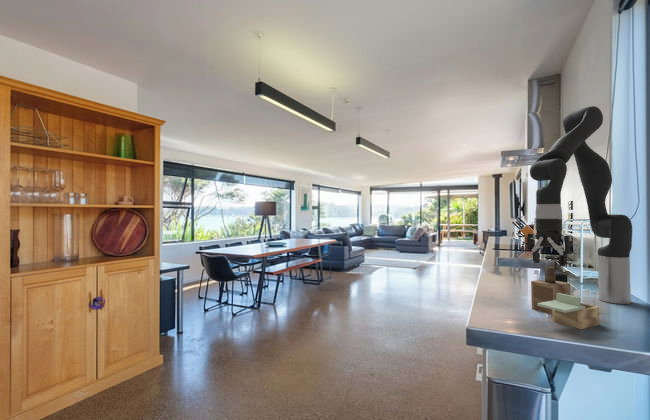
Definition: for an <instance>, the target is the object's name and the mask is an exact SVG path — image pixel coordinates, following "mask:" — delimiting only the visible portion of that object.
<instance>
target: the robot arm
mask: <svg viewBox="0 0 650 420" xmlns="http://www.w3.org/2000/svg"><path fill="white" fill-rule="evenodd" d="M603 121H604V115H603V113H602V110H601V109H600V108H599V107H597V106H595V105H594V106H593V105H591V106H587V107H583V108H580V109H578V110H574V111H570V112H569V113H567V114H565V115H564V116H563V118H562V126H563V129H564V132H565V134H564V135H562V136H561V137H560V138H558V139H557V140H556V141H555V142H554V143H553V144H552V146H551V147H550V148H549V150H548V151H547V152H546V153H544V154H542V155H541V156H539V157H538V158H537V159H536V160H535V161H534V162H533V163H532V164H531V166H530V168H529V175H530V177H531V179H532V180H534V181H537V182H544V181H548V183H547V185H546V186H542V187H539V188H537V190H536V191H535V192H536V193H535V199H536V200H535V201H536V202H535V203H536V204H535V206H536V207H535V231H536V233H534V232H533V233H532V232H531V233H527V236H526V249H527V251H530V252H532V261H533V263H535V264H540V263H541V253H540V251H541V250H543V248H545V247H546V248H547V247H548V248H553V249H554V250H556V252H557V253H559V255H558V266H559V267H562V268H563V267H566V266H567V264H568V255H571V254H574V253H575V249H574V239H573V238H574V237H573V235H571V234H570V235H569V234H568V235H563V234H562V231H563V209H562V198H561V197H562V195H561V194H562V189H563V185H564V182H565V180H566V179H565V178H566V176H567V172H568V166H567V163H568V162H569V161H570V160H571V157H574V161H575V164H576V167H577V171H578V176H579V179H580V183H581V185H582V190H583V193H584V197H585V201H586V204H587V205H586V206H587V210H588V218H589V223H590V229H591V231H592V233H593V235H595V236H596V237H598V238H603V239H609V243H608V244H607V245H604V246H601V247H598V249H597V275H598V277H597V279H598V280H597V281H598V283H597V284H598V286H597V287H598V300H600V301H602V302H606V303H611V304H617V305H618V304H620V305H628V304H631V303H632V298H631V297H632V293H631V292H632V289H631V264H630V263H631V261H630V260H631V258H630V255H631V251H632V247H633V246H632V245H633V224H632V221H631V219H630V218H629V216H628V215H625V214H614V213H613V214H609V213H608V211H607V206H606V198H607V195H608V194H609V191H610V189H611V186H612V184H613V176H612V172H611V169H610V165H609V163H608V162H607V160H606V159H605V158H604V157H602V155H600V154H599V153H597V152H596V151H594V150H593V149H592V148H591V147H590V146H589V145H588V144H587V142H586V141H587V139H588V138H590V137H591V136H592V135H593V134H594V133H595V132H597V131H598V130H599V128H600V127H602V125H603ZM536 240H537V241H536ZM562 241H563V243H564V244H563V243H562Z"/></svg>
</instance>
